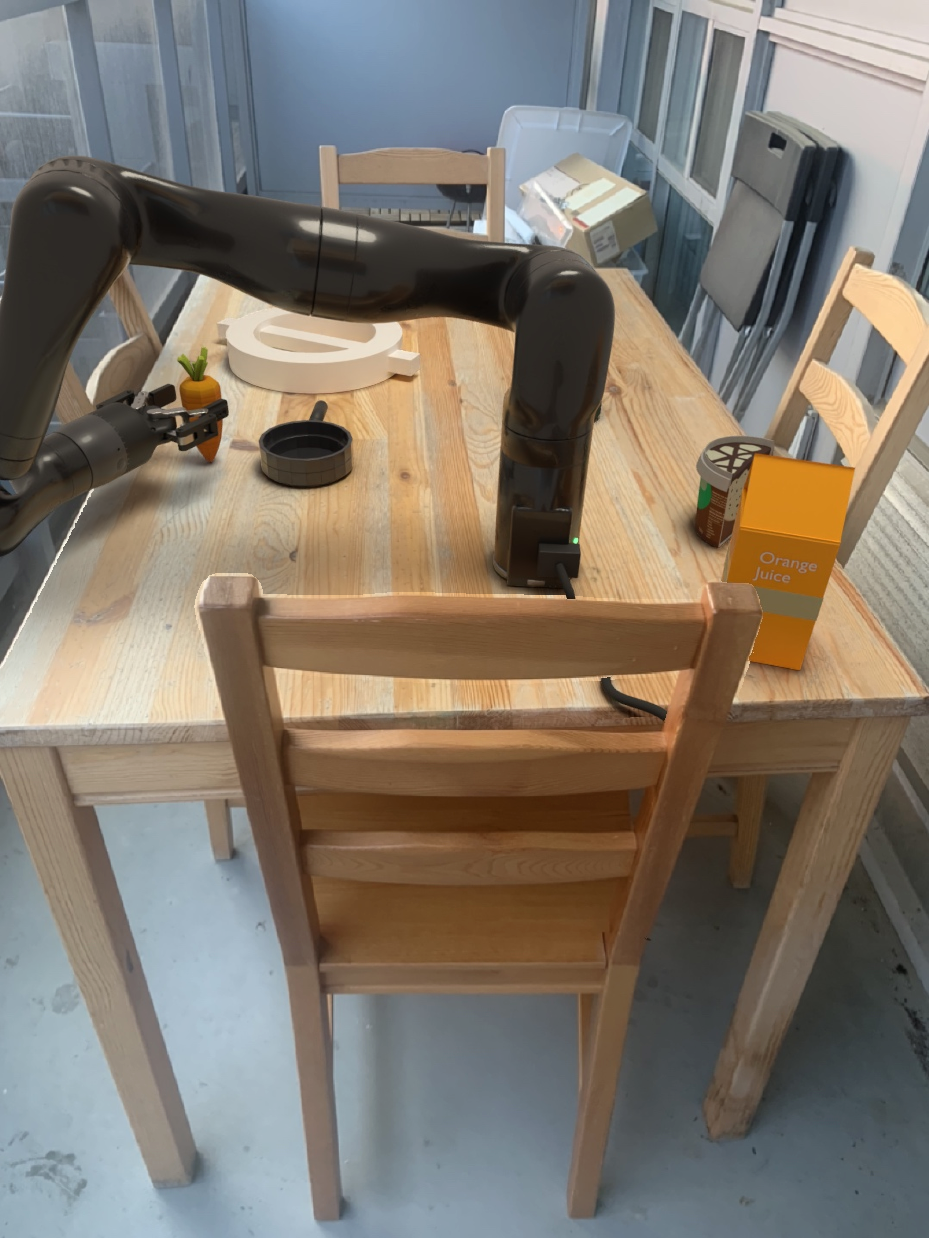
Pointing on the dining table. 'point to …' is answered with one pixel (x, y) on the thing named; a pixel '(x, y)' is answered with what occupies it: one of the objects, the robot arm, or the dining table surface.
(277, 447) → the pan
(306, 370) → the white circle with bar
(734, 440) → the food container
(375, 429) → the dining table surface
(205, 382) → the carrot
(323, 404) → the pan handle
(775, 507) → the orange juice
